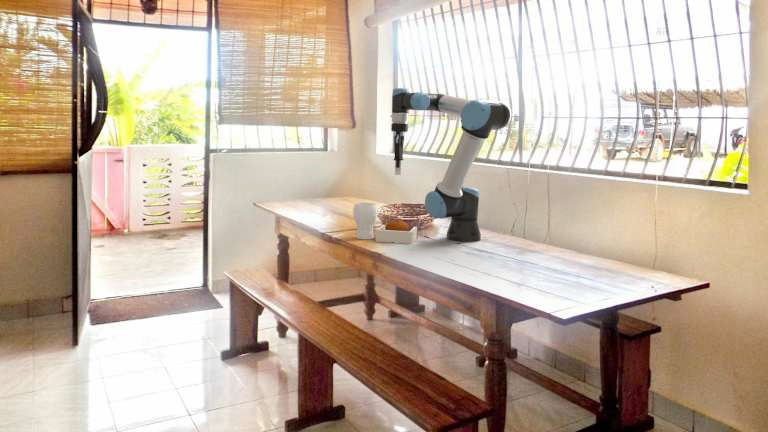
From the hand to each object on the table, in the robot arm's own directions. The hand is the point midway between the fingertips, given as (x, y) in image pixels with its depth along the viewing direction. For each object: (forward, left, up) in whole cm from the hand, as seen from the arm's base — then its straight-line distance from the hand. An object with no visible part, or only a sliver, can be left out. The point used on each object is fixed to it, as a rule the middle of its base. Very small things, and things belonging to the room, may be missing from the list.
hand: (398, 174), depth 289 cm
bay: (-4, +18, -27) cm, 33 cm away
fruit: (-4, +19, -27) cm, 33 cm away
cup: (+10, +21, -27) cm, 35 cm away
